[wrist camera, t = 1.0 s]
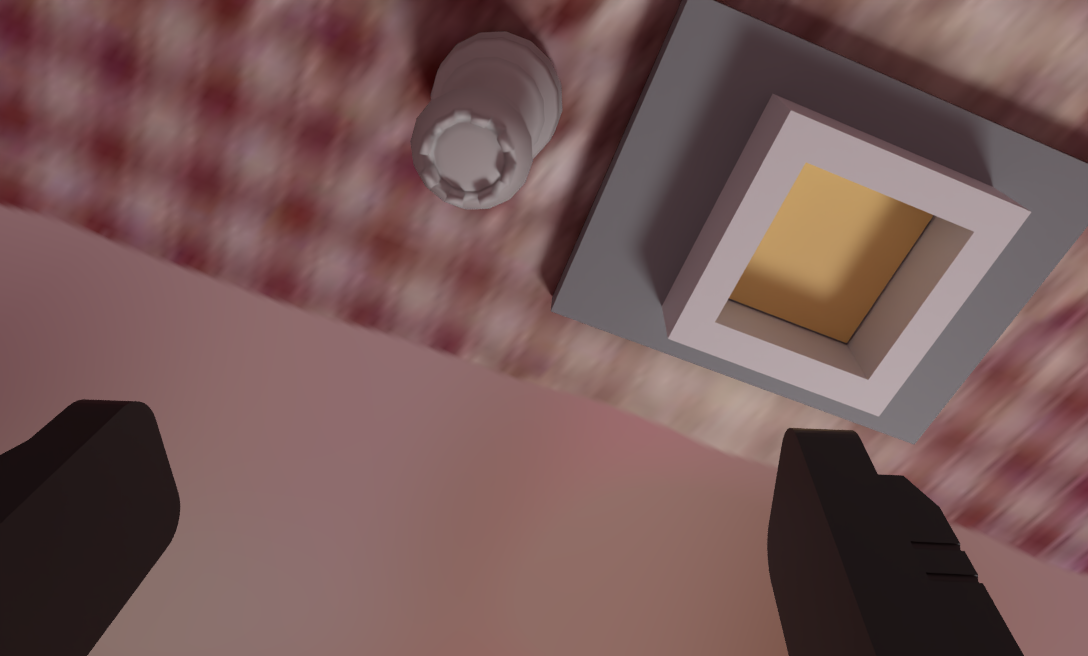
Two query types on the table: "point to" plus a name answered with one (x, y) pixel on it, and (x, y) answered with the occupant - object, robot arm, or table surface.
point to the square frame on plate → (816, 224)
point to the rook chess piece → (486, 120)
